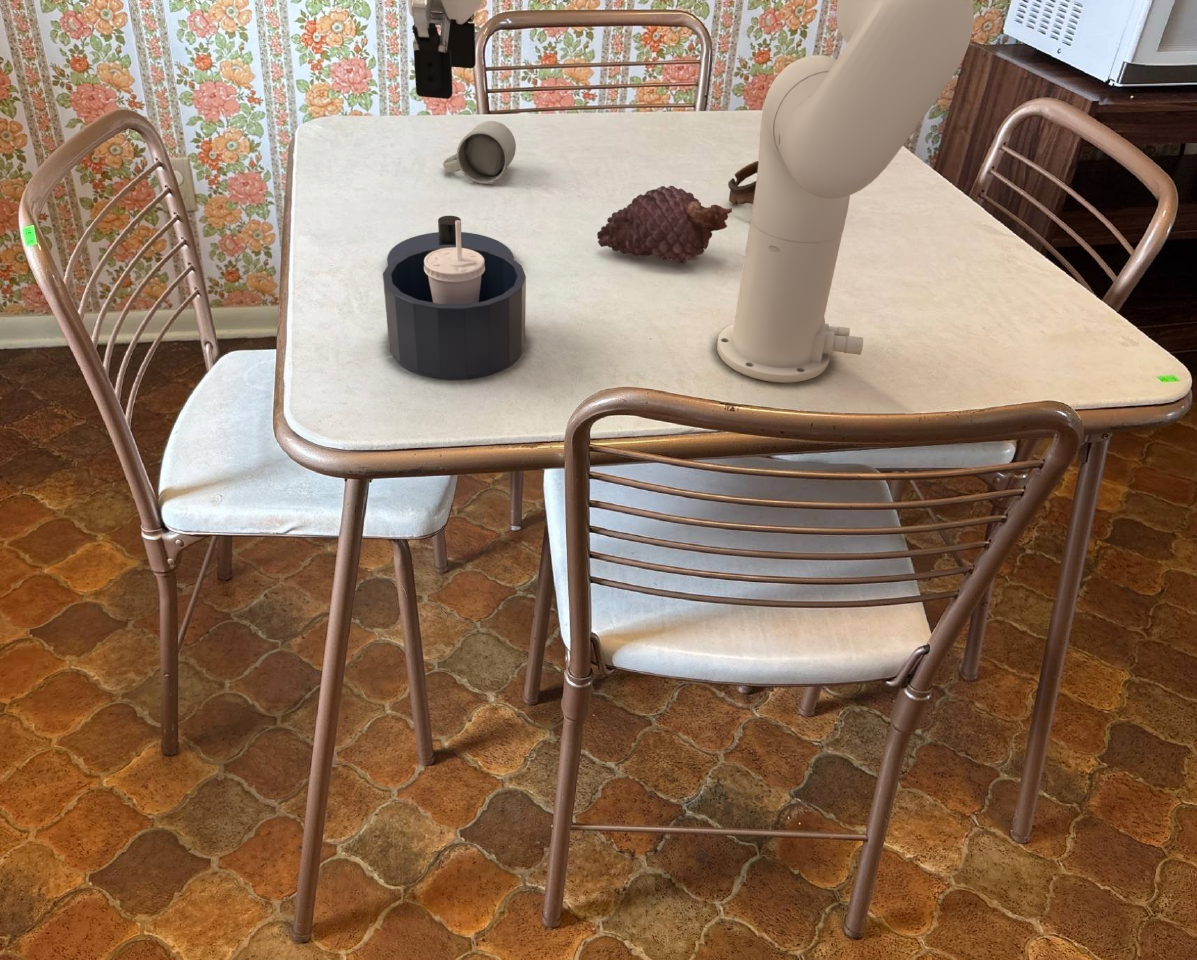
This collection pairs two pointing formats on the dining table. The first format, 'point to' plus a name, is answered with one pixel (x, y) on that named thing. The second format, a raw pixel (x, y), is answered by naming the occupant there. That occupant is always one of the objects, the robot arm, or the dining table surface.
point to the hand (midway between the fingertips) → (447, 81)
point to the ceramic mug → (484, 153)
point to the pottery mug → (743, 192)
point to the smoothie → (454, 273)
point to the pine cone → (663, 225)
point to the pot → (455, 319)
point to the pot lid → (446, 240)
